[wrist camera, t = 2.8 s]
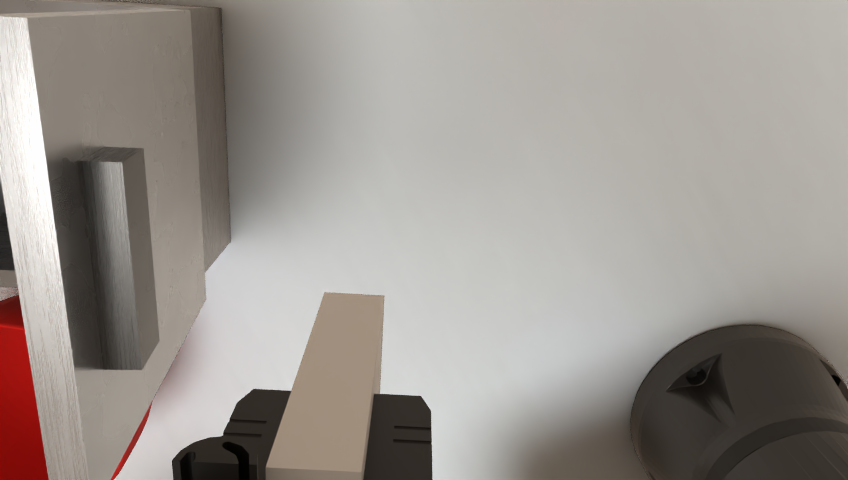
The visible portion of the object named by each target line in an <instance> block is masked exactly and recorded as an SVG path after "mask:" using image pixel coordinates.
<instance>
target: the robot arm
mask: <svg viewBox="0 0 848 480" xmlns="http://www.w3.org/2000/svg"><path fill="white" fill-rule="evenodd" d="M383 315H384V296H381V295H363V294H345V293H327V292H325V293H324V296H323V299H322V302H321V305H320V308H319V311H318V314H317V317H316V320H315V323H314V326H313V328H312V331H311V334H310V337H309V340H308V343H307V346H306V349H305V352H304V355H303V358H302V361H301V364H300V367H299V370H298V373H297V376H296V379H295V382H294V385H293V388H292V391H281V390H262V389H253V390H252V391H251V392H250V393H248V394H247V395H246V396H245V397H244V398H242V399H241V400H240V401H239V402H238V403H237V404H236V407H235V409H234V411H233V413H232V415H231V417H230V421H229V422H228V424H227V426H226V428H225V430H224V433H223V436H222V437H210V438H207V439H204V440H200V441H197V442H194V443H192V444H191V445H189V446H187V447H186V448H184V449H182V450H181V451H180V452H179V453H178V454H177V455H176V457H175V458H174V459H173V460H172V468H173V480H432V445H431V442H432V439H431V410H430V409H429V407H428V406H427V404H426V403H425V402H424V400H423V399H422V397H421V396H409V395H390V394H380V380H381V358H382V337H383ZM631 436H632V441H633V444H634V448H635V450H636V452H637V455H638V457H639V459H640V461H641V463H642V465H643V467H644V469H645V471H646V473H647V475H648V476H649V478H650V479H651V480H848V389H847V387H846V385H845V383H844V381H843V379H842V378H841V376H840V375H839V373H838V372H837V371H836V369H835V368H834V367H833V366H832V365H831V364H830V363H829V362H828V361H827V360H826V359H825V358H824V357H823V356H822V355H820V354H819V353H818V352H817V351H816V350H815V349H814V348H812V347H811V346H810V345H809V344H808V343H806V342H805V341H803V340H802V339H800V338H799V337H797V336H795V335H793V334H790V333H788V332H786V331H782V330H779V329H776V328H771V327H766V326H757V325H742V326H732V327H726V328H721V329H717V330H713V331H710V332H707V333H704V334H702V335H699V336H697V337H695V338H693V339H691V340H689V341H687V342H685V343H683V344H682V345H680V346H678V347H677V348H676V349H674V350H673V351H671V352H670V353H669V354H668V355H666V356H665V357H664V358H663V359H662V360H661V361H660V362H659V363H658V364H657V365H656V366H655V367H654V368H653V369H652V371H651V372H650V373H649V374H648V376H647V377H646V379H645V380H644V382H643V383H642V385H641V387H640V389H639V391H638V393H637V396H636V398H635V401H634V404H633V408H632V414H631Z"/></svg>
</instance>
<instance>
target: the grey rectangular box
mask: <svg viewBox="0 0 848 480" xmlns="http://www.w3.org/2000/svg"><path fill="white" fill-rule="evenodd" d="M136 9H178V10H190V13H191V31H192V49H193V67H194V86H195V104H196V122H197V140H198V158H199V177H200V195H201V213H202V231H203V249H204V268H205V272H206V271H207V270H208V268H209V267H210V266H211V265H212V264H213V262H214V261H215V260H216V259H217V258H218V256H219V255H220V254H221V253H222V251H223V250H224V249H225V248H226V247H227V245H228V244H229V243H230V242H231V240H230V214H229V189H228V164H227V139H226V114H225V89H224V64H223V39H222V14H221V8H212V7H197V6H182V5H167V4H152V3H137V2H121V1H106V0H0V14H12V13H43V12H74V11H105V10H136ZM0 287H15V288H18V284H17V278H16V272H15V266H14V260H13V253H12V247H11V241H10V235H9V228H8V222H7V216H6V210H5V204H4V197H3V191H2V185H1V179H0Z"/></svg>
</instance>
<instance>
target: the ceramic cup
mask: <svg viewBox="0 0 848 480" xmlns="http://www.w3.org/2000/svg"><path fill="white" fill-rule="evenodd" d="M151 405H152V402H151V404H150V406H149V408H148V410H147V412H146V414H145V416H144V417H143V419H142V421H141V423H140V425H139V427H138V429H137V431H136V433H135V434H134V436H133V438H132V440H131V442H130V444H129V446H128V448H127V450H126V451H125V453H124V455H123V457H122V459H121V461H120V463H119V465H118V467H117V468H116V470H115V472H114V474H113V476H112V478H111V480H114V479H115V478H116V476H117V475H118V474H119V472H120V471H121V469H122V467H123V466H124V464H125V462H126V461H127V459H128V457H129V455H130V454H131V452H132V450H133V448H134V446H135V445H136V443H137V441H138V439H139V437H140V435H141V433H142V431H143V428H144V426H145V424H146V421H147V418H148V416H149V412H150V408H151ZM0 480H49V478H48V471H47V465H46V459H45V453H44V446H43V440H42V434H41V428H40V421H39V415H38V409H37V403H36V397H35V390H34V384H33V378H32V372H31V365H30V359H29V353H28V347H27V341H26V334H25V328H24V322H23V316H22V309H21V303H20V297H19V295H17V296H13V297H10V298H7V299H5V300H2V301H0Z"/></svg>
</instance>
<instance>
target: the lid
mask: <svg viewBox="0 0 848 480" xmlns="http://www.w3.org/2000/svg"><path fill="white" fill-rule="evenodd" d="M0 179H1V185H2V191H3V197H4V204H5V210H6V216H7V222H8V228H9V235H10V241H11V247H12V253H13V260H14V266H15V272H16V278H17V284H18V291H19V297H20V303H21V309H22V316H23V322H24V328H25V334H26V341H27V347H28V353H29V359H30V365H31V372H32V378H33V384H34V390H35V397H36V403H37V409H38V415H39V421H40V428H41V434H42V440H43V446H44V453H45V459H46V465H47V471H48V478H49V480H111V478H112V476H113V474H114V472H115V470H116V468H117V467H118V465H119V463H120V461H121V459H122V457H123V455H124V453H125V451H126V450H127V448H128V446H129V444H130V442H131V440H132V438H133V436H134V434H135V433H136V431H137V429H138V427H139V425H140V423H141V421H142V419H143V417H144V416H145V414H146V412H147V410H148V408H149V406H150V404H151V402H152V401H153V399H154V397H155V395H156V393H157V391H158V389H159V387H160V385H161V384H162V382H163V380H164V378H165V376H166V374H167V372H168V370H169V368H170V367H171V365H172V363H173V361H174V359H175V357H176V355H177V353H178V351H179V350H180V348H181V346H182V344H183V342H184V340H185V338H186V336H187V334H188V333H189V331H190V329H191V327H192V325H193V323H194V321H195V319H196V317H197V316H198V314H199V312H200V310H201V308H202V306H203V304H204V302H205V300H206V286H205V268H204V249H203V231H202V213H201V195H200V177H199V158H198V140H197V122H196V104H195V86H194V67H193V49H192V31H191V13H190V10H178V9H136V10H105V11H74V12H43V13H12V14H0Z"/></svg>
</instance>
